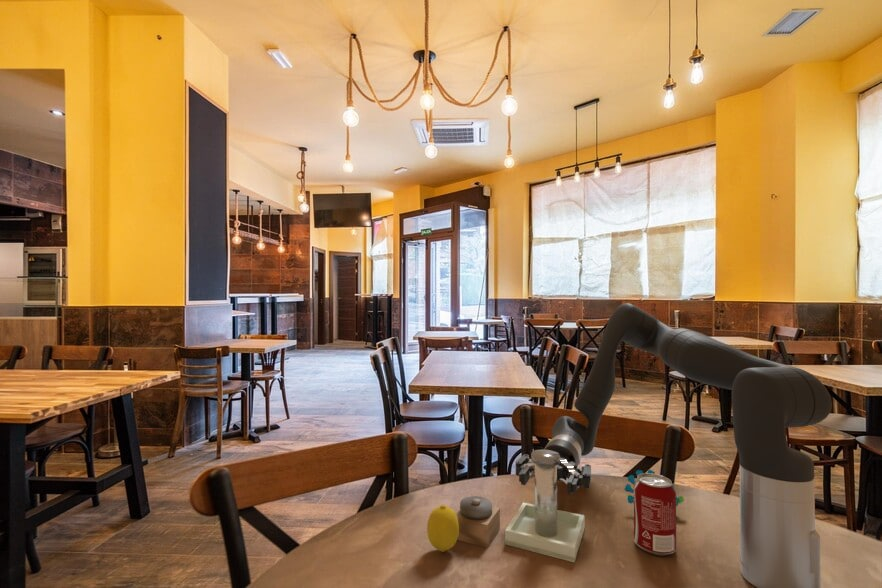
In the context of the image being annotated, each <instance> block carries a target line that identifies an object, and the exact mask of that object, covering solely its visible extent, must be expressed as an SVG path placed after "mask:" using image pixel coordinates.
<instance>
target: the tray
mask: <svg viewBox="0 0 882 588" xmlns="http://www.w3.org/2000/svg"><path fill="white" fill-rule="evenodd" d="M585 523H586V517H585V515H584V514H580V513H574V512H571V511H565V510H561V509H557V535H556V536H554V537H543V536H540V535H538V534H537V533H536V532H535V504H534V503H533V504H532V503H529V502H522V504H521V505H520V507H519V508H518V510H517V511H516V513H515V514H514V516H513V517H512V519H511V521H510V522H509V524H508V525H507V527H506V529H505V531H504V537H505V538H504V544H505V546H510V547H513V548H518V549H522V550H525V551H529V552H533V553H537V554H541V555H545V556H547V557H552V558H555V559H560V560H563V561H567V562H571V563H576V559H577V556H578V552H579V549H580V546H581V542H582V538H583V536H584V531H585Z"/></svg>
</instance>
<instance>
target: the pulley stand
mask: <svg viewBox="0 0 882 588" xmlns="http://www.w3.org/2000/svg"><path fill="white" fill-rule="evenodd" d="M459 502H460V503H459V507H458V508H457V509H456V510H455V511H454V512H455V514H456V516H457V519H458V524H459V535H458V539H457V541H461V542H464V543H467V544H471V545H474V546H478V547H483V548H485V549H488V548H489V546H490V544H491V543H492V541H493V540H494V539H495V537H496V535H497V534H498V533H499V531H500V529H501V508H500V507H498V506H493V502H492V501H491V500H490V499H488V498H486V497H483V496H478V495H471V496H466V497H464V498H462V499H461V500H460V501H459Z"/></svg>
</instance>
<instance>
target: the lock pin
mask: <svg viewBox="0 0 882 588" xmlns="http://www.w3.org/2000/svg"><path fill="white" fill-rule="evenodd" d="M530 456H531V458H530V459H531V460H532V462H534V463H535V478H534V505H535V532H536V533H537V534H538V535H540V536H543V537H554V536H556V535H557V510H558V480H557V465H558V464H559V463H560V454H559V453H557V452H555V451H551V450H544V449H535V450H533V451H531V455H530Z"/></svg>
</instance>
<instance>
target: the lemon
mask: <svg viewBox="0 0 882 588" xmlns="http://www.w3.org/2000/svg"><path fill="white" fill-rule="evenodd" d="M455 512H456V511H454V510H453V509H452V508H451V507H449V506H447V505H445V504H442V505H441V504H440V505H439V506H437V507H435V508H434V509H432V511H431V512H430V513H429V515H428V516H429V517H428V520H427V525H426V533H427V538H428V541H429V543H430V544H431V546H432V547H433V548H435V549H436V550H438V551H440V552H442V553H445V552H446V551H448V550H450V549H452V548H453V547H454V546H455V545H456V543H457V541H458V540H457V539H458V535H459V524H458V519H457V516H456V514H455Z"/></svg>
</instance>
